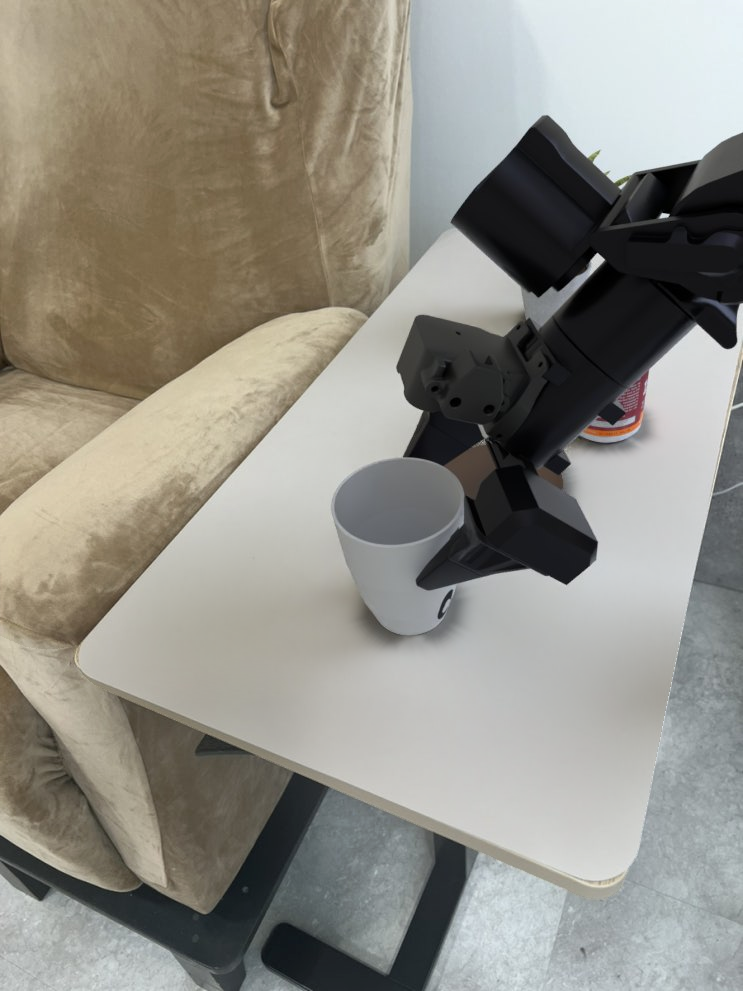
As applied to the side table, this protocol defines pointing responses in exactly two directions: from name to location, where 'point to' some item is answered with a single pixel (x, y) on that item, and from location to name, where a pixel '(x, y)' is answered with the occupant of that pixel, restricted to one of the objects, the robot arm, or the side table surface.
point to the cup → (398, 537)
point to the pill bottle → (628, 423)
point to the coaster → (486, 470)
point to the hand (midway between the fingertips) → (408, 532)
